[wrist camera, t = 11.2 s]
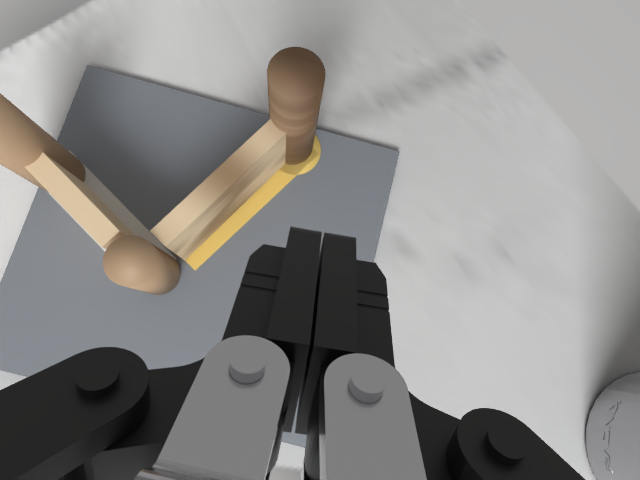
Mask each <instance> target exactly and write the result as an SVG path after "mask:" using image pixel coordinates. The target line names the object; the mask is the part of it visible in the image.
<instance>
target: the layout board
mask: <svg viewBox="0 0 640 480" xmlns="http://www.w3.org/2000/svg"><path fill="white" fill-rule="evenodd" d="M269 120H270V116H269V115H265V114H262V113H258V112H255V111H251V110H247V109H244V108H240V107H237V106H233V105H229V104H226V103H222V102H219V101H215V100H211V99H208V98H204V97H200V96H197V95H193V94H190V93H186V92H182V91H179V90H175V89H172V88H168V87H164V86H161V85H157V84H154V83H150V82H146V81H143V80H139V79H136V78H132V77H128V76H125V75H121V74H118V73H114V72H110V71H107V70H103V69H100V68H96V67H92V66H89V65H87V68H86V70H85V73H84V75H83V78H82V80H81V83H80V85H79V88H78V90H77V93H76V95H75V98H74V100H73V103H72V105H71V108H70V110H69V113H68V115H67V118H66V120H65V123H64V125H63V128H62V130H61V133H60V135H59V138H58V140H57V141H56V140H55V139H54V138H53V137H51V136H50V135H49V134H48V133H47V132H45V131H44V130H43V129H42V128H41V127H40V126H38V125H37V124H36V123H35V122H34V121H32V120H31V119H30V118H29V117H28V116H26V115H25V114H24V113H23V112H22V111H20V110H19V109H18V108H17V107H16V106H15V105H13V104H12V103H11V102H10V101H9V100H7V99H6V98H5V97H4V96H3V95H1V94H0V164H1V165H2V166H4V167H6V168H8V169H9V170H11V171H13V172H14V173H16V174H18V175H19V176H21V177H23V178H25V179H26V180H28V181H30V182H31V183H33V184H35V185H36V186H38V187H39V188H38V190H37V193H36V195H35V198H34V200H33V203H32V205H31V208H30V210H29V213H28V215H27V218H26V220H25V223H24V225H23V228H22V230H21V233H20V235H19V238H18V240H17V243H16V245H15V248H14V250H13V253H12V255H11V258H10V260H9V263H8V265H7V268H6V270H5V273H4V275H3V278H2V280H1V283H0V370H2V371H6V372H10V373H14V374H18V375H22V376H26V377H29V376H31V375H33V374H36V373H38V372H40V371H42V370H44V369H46V368H48V367H50V366H52V365H54V364H56V363H59V362H61V361H63V360H65V359H67V358H69V357H71V356H73V355H75V354H78V353H80V352H83V351H86V350H89V349H93V348H99V347H118V348H123V349H126V350H129V351H132V352H133V353H135V354H137V355H138V356H139V357H140V358H142V360H143V361H144V362H145V364H146V366H147V368H148V370H150V369H160V368H169V367H178V366H184V365H187V364H191V363H194V362H196V361H199V360H201V359H203V358H204V357H206V355H207V353H208V352H209V351H210V349H211V348H212V347H213V346H215V345H216V344H217V343H219V342H221V340H222V338H223V335H224V332H225V329H226V326H227V323H228V320H229V317H230V314H231V311H232V308H233V305H234V302H235V299H236V296H237V293H238V290H239V287H240V284H241V281H242V278H243V275H244V273H245V269H246V266H247V263H248V260H249V257H250V255H251V254H252V253H254V252H255V251H256V250H257V249H258V248H259V247H261V246H262V245H263V244H266V245H272V246H278V247H284V248H286V244H287V240H288V235H289V231H290V227H297V228H303V229H309V230H315V231H321V232H322V237H321V245H322V240H323V236H324V232H327V233H333V234H339V235H345V236H350V237H356V257H357V260H361V261H367V262H373V261H374V257H375V253H376V248H377V244H378V240H379V236H380V231H381V227H382V223H383V219H384V214H385V210H386V206H387V202H388V198H389V193H390V189H391V185H392V181H393V176H394V172H395V168H396V164H397V159H398V155H399V151H395V150H392V149H388V148H384V147H381V146H377V145H373V144H370V143H366V142H363V141H359V140H355V139H352V138H348V137H345V136H341V135H337V134H334V133H330V132H327V131H323V130H319V129H316V132H315V137H314V143H313V149H312V152H311V155H310V156H309V157H308V159H307V160H305V161H304V162H302V163H300V164H296V165H288V164H284V165H283V166H282V167H281V168H280V169H279V170H278V171H277V172H276V173H275V174H274V175H273V176H272V177H271V178H270V179H269V180H268V181H267V182H266V183H265V184H264V185H263V186H262V187H261V188H260V189H259V190H258V191H257V192H255V193H254V194H253V195H252V196H251V197H250V198H249V199H248V200H247V201H246V202H245V203H244V204H243V205H242V206H241V207H240V208H239V209H238V210H237V211H236V212H235V213H234V214H233V215H232V216H231V217H230V218H229V219H227V220H226V221H225V222H224V223H223V224H222V225H221V226H220V227H219V228H218V229H217V230H216V231H215V232H214V233H213V234H212V235H211V236H210V237H209V238H208V239H207V240H206V241H205V242H204V243H203V244H202V245H201V246H199V247H198V248H197V249H196V250H195V251H194V252H193V253H192V254H191V255H190V256H189V257H188V258H187V259H186V260H183V259H182V258H181V257H179V256H178V255H176V254H175V253H174V252H172V251H171V250H169V249H168V248H167V247H165V246H164V245H163V244H162V243H161V242H160V241H159V240H158V239H157V238H156V237H155V236H154V235H153V234H152V233H151V232H150V230H152V229H153V228H154V227H155V226H156V225H157V224H158V223H159V222H160V221H161V220H162V219H163V218H164V217H166V216H167V215H168V214H169V213H170V212H171V211H172V210H173V209H174V208H175V207H176V206H177V205H178V204H180V203H181V202H182V201H183V200H184V199H185V198H186V197H187V196H188V195H189V194H190V193H191V192H192V191H193V190H195V189H196V188H197V187H198V186H199V185H200V184H201V183H202V182H203V181H204V180H205V179H206V178H207V177H209V176H210V175H211V174H212V173H213V172H214V171H215V170H216V169H217V168H218V167H219V166H220V165H221V164H223V163H224V162H225V161H226V160H227V159H228V158H229V157H230V156H231V155H232V154H233V153H234V152H235V151H236V150H238V149H239V148H240V147H241V146H242V145H243V144H244V143H245V142H246V141H247V140H248V139H249V138H250V137H252V136H253V135H254V134H255V133H256V132H257V131H258V130H259V129H260V128H261V127H262V126H263V125H264V124H266V123H267V122H268V121H269ZM320 250H321V246H320ZM298 402H299V398H298ZM297 410H298V403H297V408H296V412H295V417H294V422H293V427H292V431H291V433H290V432H283V434H282V439H281V442H285V443H289V444H293V445H297V446H301V447H306V437H307V435H304V434H298V433H295V427H296V418H297Z"/></svg>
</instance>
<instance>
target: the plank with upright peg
mask: <svg viewBox="0 0 640 480" xmlns="http://www.w3.org/2000/svg"><path fill="white" fill-rule="evenodd" d="M267 77H268V96H269V116H270V120H269V121H268V122H267V123H266V124H264V125H263V126H262V127H261V128H260V129H259V130H258V131H257V132H256V133H255V134H254V135H253V136H252V137H250V138H249V139H248V140H247V141H246V142H245V143H244V144H243V145H242V146H241V147H240V148H239V149H238V150H236V151H235V152H234V153H233V154H232V155H231V156H230V157H229V158H228V159H227V160H226V161H225V162H224V163H223V164H221V165H220V166H219V167H218V168H217V169H216V170H215V171H214V172H213V173H212V174H211V175H210V176H209V177H207V178H206V179H205V180H204V181H203V182H202V183H201V184H200V185H199V186H198V187H197V188H196V189H195V190H193V191H192V192H191V193H190V194H189V195H188V196H187V197H186V198H185V199H184V200H183V201H182V202H181V203H180V204H178V205H177V206H176V207H175V208H174V209H173V210H172V211H171V212H170V213H169V214H168V215H167V216H166V217H164V218H163V219H162V220H161V221H160V222H159V223H158V224H157V225H156V226H155V227H154V228H153V229H152V230H150V232H151V233H152V234H153V235H154V236H155V237H156V238H157V239H158V240H159V241H160V242H161V243H162V244H163V245H164V246H165V247H167V248H168V249H169V250H171V251H172V252H174V253H175V254H176V255H178V256H179V257H181V258H182V259H183V260H186V259H187V258H188V257H189V256H190V255H191V254H192V253H193V252H194V251H195V250H196V249H197V248H198V247H199V246H201V245H202V244H203V243H204V242H205V241H206V240H207V239H208V238H209V237H210V236H211V235H212V234H213V233H214V232H215V231H216V230H217V229H218V228H219V227H220V226H221V225H222V224H223V223H224V222H225V221H226V220H227V219H229V218H230V217H231V216H232V215H233V214H234V213H235V212H236V211H237V210H238V209H239V208H240V207H241V206H242V205H243V204H244V203H245V202H246V201H247V200H248V199H249V198H250V197H251V196H252V195H253V194H254V193H255V192H257V191H258V190H259V189H260V188H261V187H262V186H263V185H264V184H265V183H266V182H267V181H268V180H269V179H270V178H271V177H272V176H273V175H274V174H275V173H276V172H277V171H278V170H279V169H280V168H281V167H282V166H283V165H284V164H288V165H296V164H300V163H302V162H304V161H305V160H307V159H308V157H309V156H310V155H311V152H312V149H313V143H314V137H315V132H316V126H317V120H318V115H319V109H320V104H321V98H322V92H323V87H324V81H325V68H324V65H323V63H322V61H321V60H320V58H319V57H318V56H317V55H316V54H314V53H313V52H312V51H310V50H308V49H305V48H301V47H290V48H286V49H283V50H281V51H279V52H278V53H276V54H275V55H274V56H273V58H272V59H271V61H270V62H269V65H268V70H267Z"/></svg>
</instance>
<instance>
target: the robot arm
mask: <svg viewBox="0 0 640 480" xmlns="http://www.w3.org/2000/svg"><path fill="white" fill-rule="evenodd" d="M321 237H322V232H321V231H315V230H309V229H303V228H297V227H290V231H289V235H288V240H287V244H286V248H284V247H278V246H272V245H266V244H263V245H262V246H261V247H259V248H258V249H257V250H256V251H255V252H254V253H252V254H251V255H250V257H249V260H248V263H247V266H246V269H245V273H244V275H243V278H242V281H241V284H240V287H239V290H238V293H237V296H236V299H235V302H234V305H233V308H232V311H231V314H230V317H229V320H228V323H227V326H226V329H225V332H224V335H223V338H222V340H221V342H219V343H217V344H216V345H215V346H213V347H212V348H211V349H210V351H209V352H208V353H207V355H206V357H204V358H203V359H201V360H199V361H196V362H194V363H191V364H187V365H184V366H178V367H169V368H160V369H150V370H148V368H147V366H146V364H145V362H144V361H143V360H142V358H140V357H139V356H138V355H137V354H135V353H133V352H132V351H129V350H126V349H123V348H118V347H99V348H93V349H89V350H86V351H83V352H80V353H78V354H75V355H73V356H71V357H69V358H67V359H65V360H63V361H61V362H59V363H56V364H54V365H52V366H50V367H48V368H46V369H44V370H42V371H40V372H38V373H36V374H33V375H31V376H29V377H27V378H25V379H23V380H21V381H19V382H17V383H15V384H13V385H10V386H8V387H6V388H4V389H2V390H0V480H270V475H271V471H272V469H273V467H274V466H275V464H276V461H277V458H278V454H279V449H280V444H281V439H282V434H283V432H290V433H291V431H292V427H293V422H294V417H295V412H296V408H297V403H298V410H297V418H296V427H295V433H298V434H304V435H307V437H306V447H305V457H304V461H303V465H302V469H301V474H300V480H585V479H584V478H583V477H582V476H581V475H580V474H579V473H577V472H576V471H575V470H574V469H573V468H572V467H571V466H570V465H569V464H568V463H567V462H566V461H564V460H563V459H562V458H561V457H560V456H559V455H558V454H557V453H556V452H555V451H554V450H553V449H551V448H550V447H549V446H548V445H547V444H546V443H545V442H544V441H543V440H542V439H541V438H540V437H538V436H537V435H536V434H535V433H534V432H533V431H532V430H531V429H530V428H529V427H527V426H526V425H525V424H524V423H523V422H521V421H520V420H518V419H517V418H515V417H513V416H511V415H509V414H507V413H505V412H502V411H499V410H495V409H489V408H479V409H475V410H472V411H470V412H468V413H466V414H465V415H464V416H463V417H462V419H461V420H459V419H457V418H455V417H453V416H450V415H448V414H446V413H444V412H442V411H439V410H437V409H435V408H433V407H431V406H429V405H427V404H425V403H423V402H422V401H420V400H419V399H417V398H416V397H415V396H414V395H412V394H411V393H410V392H409V391H408V389H407V385H406V383H405V381H404V379H403V377H402V376H401V375H400V373H399V372H398V371H397V370H396V369H395V365H394V355H393V345H392V335H391V325H390V314H389V312H388V311H389V304H388V298H387V295H388V294H387V284H386V278H385V276H384V275H383V273H382V272H381V270H380V269H379V267H378V266H377V264H376V263H373V262H367V261H361V260H357V257H356V237H350V236H345V235H339V234H333V233H327V232H324V236H323V240H322V245H321ZM320 246H321V250H320ZM298 398H299V402H298ZM586 448H587V454H588V460H589V463H590V466H591V469H592V471H593V474H594V476H595V478H596V480H640V372H638V373H632V374H627V375H625V376H623V377H621V378H619V379H616V380H615V381H614V382H612V383H611V384H610V385H609V386H607V387H606V388H605V389H604V390H603V391H602V393H601V394H600V395H599V397H598V398H597V399H596V401H595V403H594V405H593V407H592V409H591V411H590V414H589V419H588V423H587V427H586Z"/></svg>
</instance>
